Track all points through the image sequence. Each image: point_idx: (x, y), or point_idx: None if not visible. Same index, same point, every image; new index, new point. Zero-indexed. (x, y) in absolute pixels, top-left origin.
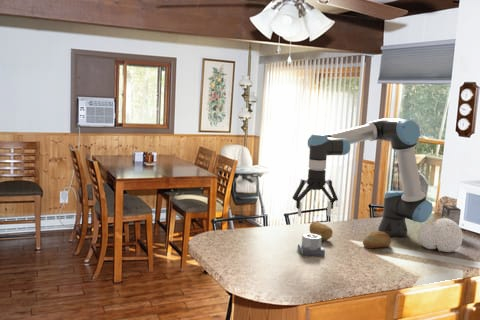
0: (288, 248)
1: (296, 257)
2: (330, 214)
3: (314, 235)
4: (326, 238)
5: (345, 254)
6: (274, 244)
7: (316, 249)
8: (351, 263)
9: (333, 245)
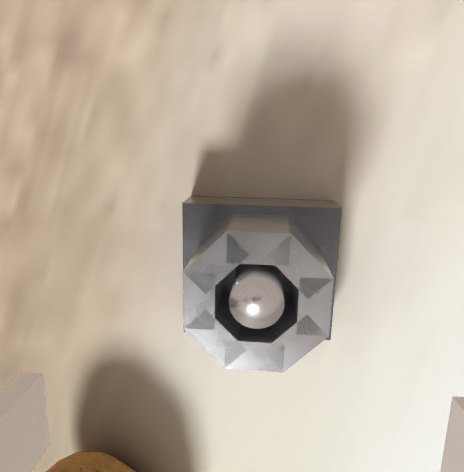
0: (373, 348)
1: (380, 185)
2: (5, 388)
3: (226, 327)
4: (96, 452)
5: (46, 235)
6: (438, 419)
7: (240, 214)
8: (52, 71)
9: (75, 389)
